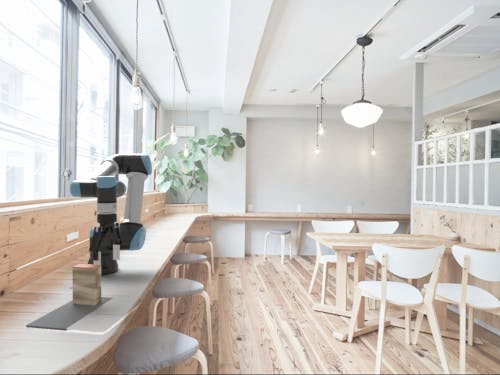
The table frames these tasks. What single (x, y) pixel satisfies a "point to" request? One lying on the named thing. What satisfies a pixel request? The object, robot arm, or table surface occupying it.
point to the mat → (65, 315)
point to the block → (86, 284)
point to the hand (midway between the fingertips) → (107, 263)
